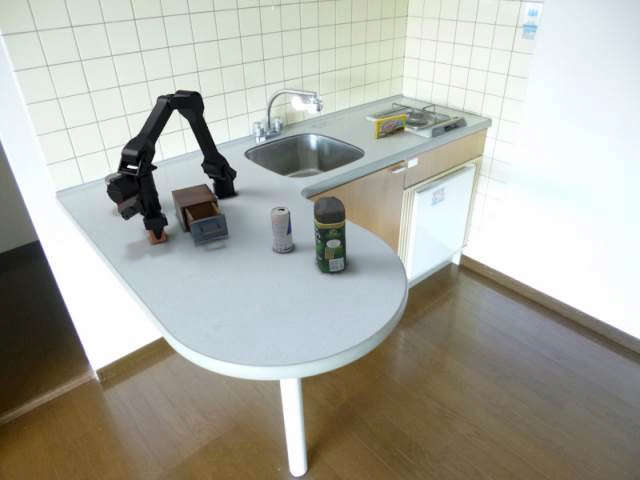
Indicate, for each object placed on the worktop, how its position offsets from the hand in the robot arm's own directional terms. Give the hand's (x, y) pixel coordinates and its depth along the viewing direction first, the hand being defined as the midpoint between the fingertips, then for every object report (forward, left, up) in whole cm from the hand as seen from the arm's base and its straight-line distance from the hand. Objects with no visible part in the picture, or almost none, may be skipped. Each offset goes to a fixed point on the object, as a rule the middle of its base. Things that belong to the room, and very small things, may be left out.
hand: (157, 236), depth 140 cm
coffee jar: (-39, +38, -1) cm, 54 cm away
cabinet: (-14, -7, -1) cm, 16 cm away
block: (0, 0, -1) cm, 1 cm away
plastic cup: (+5, -26, -1) cm, 27 cm away
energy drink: (-31, +24, -1) cm, 39 cm away
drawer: (-14, +6, 0) cm, 15 cm away
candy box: (-111, -42, -1) cm, 119 cm away
